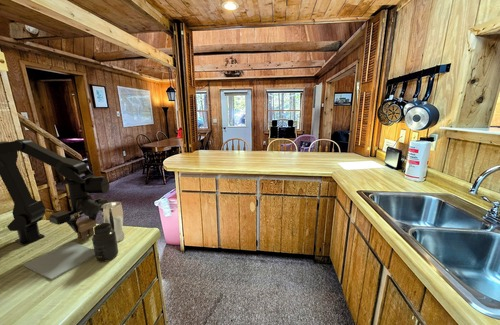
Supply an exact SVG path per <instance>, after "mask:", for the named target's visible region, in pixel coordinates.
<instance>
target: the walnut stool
mask: <svg viewBox="0 0 500 325" xmlns="http://www.w3.org/2000/svg"><path fill="white" fill-rule="evenodd" d="M96 222H97V221H96V220H92V219H89V217H86V218H83V219H81V220H77V221H76V223H77V227H78V233H76V234H77V238H78V239H82V240H83V241H85V240H87V239H88V237H91V238H92V237H93V235H94V234H95V233H94V227H95V226H97V224H96Z"/></svg>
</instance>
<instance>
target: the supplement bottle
mask: <svg viewBox="0 0 500 325" xmlns="http://www.w3.org/2000/svg"><path fill="white" fill-rule="evenodd" d="M93 230H94V235H93V236H91V241H92V242H91V243H92V245H93V246H92V247H93V250H94V253H95V256H94V257H95V260H96V261H97V262H100V263H103V262H104V263H105V262H108V261H110V260H113V259H114V258H116V257H117V256H118V254H119V248H118V242H117V239H116V233H115V231H114V230H112V228H111V224H110V223H103V222H102V223H99V224H96V226H95V227H93Z"/></svg>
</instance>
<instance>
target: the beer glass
mask: <svg viewBox="0 0 500 325" xmlns="http://www.w3.org/2000/svg"><path fill="white" fill-rule="evenodd" d="M101 208H102V210H101V219H102V223H110V224H111V228H112V230H114V231H115V233H116V239H117V243H119V242H122V241H123V240H124V239H125V233H124V228H123V225H124V224H123V223H124V212H123V211H124V210H123V205H122V202H121V201H111V202H110V201H109V203H106V204H104V205H102V207H101Z"/></svg>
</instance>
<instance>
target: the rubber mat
mask: <svg viewBox="0 0 500 325" xmlns="http://www.w3.org/2000/svg"><path fill="white" fill-rule="evenodd" d="M94 257H95V253H94V248H91V247H88V246H85V245H82V244H80V243H77V242H74V241H70V242H68V243H67V244H64V245H62V246H59V247H58V248H55V249H54V250H51V251H49V252H46V253H45V254H43V255H40V256H38V257H36V258H35V259H32V260H30V261H28V262H26V263H23V267H25V268H27V269H29V270H31V271H32V272H35V273H37V274H38V275H41V276H42V277H45V278H47V279H48V280H50V281H54V280H56V279H58V278H59V277H61V276H62V275H65V274H66V273H68V272H70V271H71V270H73V269H75V268H76V267H78V266H80V265H82V264H83V263H85V262H87V261H88V260H90V259H92V258H94Z"/></svg>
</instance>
